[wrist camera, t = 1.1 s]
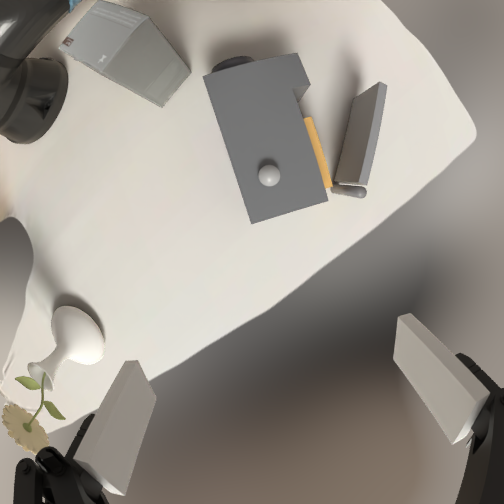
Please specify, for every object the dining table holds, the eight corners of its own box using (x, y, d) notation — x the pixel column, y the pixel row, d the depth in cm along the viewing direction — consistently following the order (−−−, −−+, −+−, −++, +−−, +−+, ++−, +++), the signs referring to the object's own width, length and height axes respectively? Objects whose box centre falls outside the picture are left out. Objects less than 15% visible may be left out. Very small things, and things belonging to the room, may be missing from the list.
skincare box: (193, 73, 29) (160, 10, 14) (158, 114, 30) (101, 75, 15) (149, 49, 28) (102, -8, 12) (117, 87, 29) (53, 48, 14)
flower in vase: (47, 309, 37) (-39, 386, 13) (87, 294, 37) (-14, 390, 12) (82, 368, 41) (21, 459, 16) (125, 360, 40) (64, 475, 16)
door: (346, 185, 33) (373, 187, 25) (334, 181, 33) (358, 182, 25) (365, 104, 30) (393, 88, 22) (353, 99, 30) (379, 81, 22)
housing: (208, 87, 30) (197, 61, 21) (297, 65, 29) (311, 35, 20) (251, 218, 34) (253, 231, 26) (340, 192, 34) (368, 196, 25)
